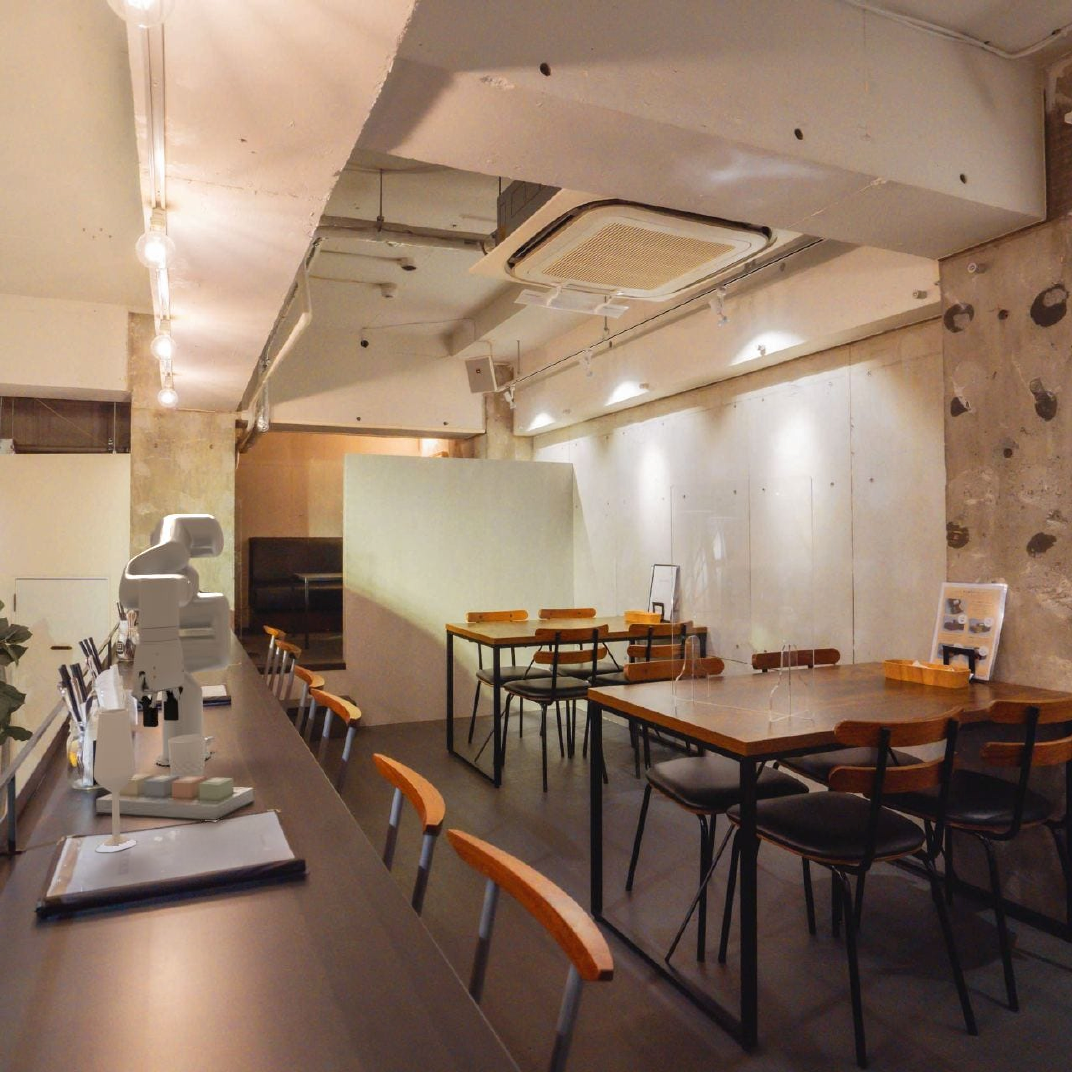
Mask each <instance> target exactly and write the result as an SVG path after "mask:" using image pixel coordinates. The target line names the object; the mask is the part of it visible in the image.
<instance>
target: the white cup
mask: <svg viewBox="0 0 1072 1072" xmlns="http://www.w3.org/2000/svg"><path fill="white" fill-rule="evenodd" d="M205 738H206V735H205V734H203V735H201V734H191V735H182V736H177V737H173V738H171V739H169V740H168V749H169V763H170V766H169V771H170V775H178V776H179V779H181V778H184V777H186V776H198V777H205V776H204V774H205V765H206V764H205V761H206V759H205V748H206V747H205Z"/></svg>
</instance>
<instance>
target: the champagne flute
mask: <svg viewBox="0 0 1072 1072" xmlns="http://www.w3.org/2000/svg"><path fill="white" fill-rule="evenodd" d="M130 717H131V716H130V709H129V708H112V709H107V710H106V709H105V710H102V711H100V712H98V720H97V733H96V744H95V754H94V755H95V757H94V767H93V779H94V780H95V781H96V783H97V784H98V785H99V786H101V787H102V788H103V789H105V790H106V791H109V792H110V793H112V815H111V823H112V825H111V829H112V830H111V831H112V834H111V836H110V837H109V838H107V839H105V840H104V841H103V842H104V845H105V846H119V844H123V843H126V842H127V841H130V840H131V839H132V838H131V837H129V836H125V835H123V834H121V827H120V826H121V823H120V821H121V820H120V817H121V816H120V814H119V791H120V790H121V789H122V788H124V787H125V786H126V785H127V784H128V782H129V781H130V780H131V779H132V778H133V776H134V774H135V773H136V772H137V768H136V767H137V765H136V758H135V749H134V743H133V742H134V741H133V735H132V726H131V718H130ZM130 838H131V839H130Z"/></svg>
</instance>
